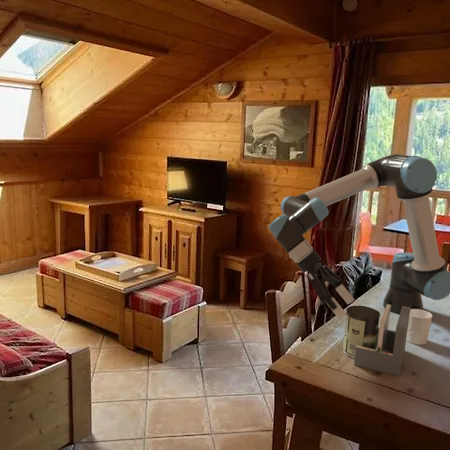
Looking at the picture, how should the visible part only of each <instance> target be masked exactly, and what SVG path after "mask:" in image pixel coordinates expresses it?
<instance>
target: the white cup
mask: <svg viewBox="0 0 450 450" xmlns="http://www.w3.org/2000/svg"><path fill="white" fill-rule="evenodd" d="M432 319H433V313H430V311H426V310H424V309H423V310H420V309H410V316H409V323H408V331H407V338H406V342H408V343H411V344H413V345H419V346H423V345H426V344H427V342H428V338H429V335H430V329H431V326H432Z"/></svg>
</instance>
